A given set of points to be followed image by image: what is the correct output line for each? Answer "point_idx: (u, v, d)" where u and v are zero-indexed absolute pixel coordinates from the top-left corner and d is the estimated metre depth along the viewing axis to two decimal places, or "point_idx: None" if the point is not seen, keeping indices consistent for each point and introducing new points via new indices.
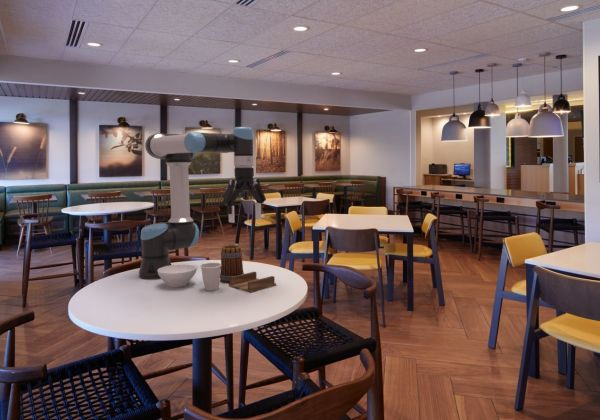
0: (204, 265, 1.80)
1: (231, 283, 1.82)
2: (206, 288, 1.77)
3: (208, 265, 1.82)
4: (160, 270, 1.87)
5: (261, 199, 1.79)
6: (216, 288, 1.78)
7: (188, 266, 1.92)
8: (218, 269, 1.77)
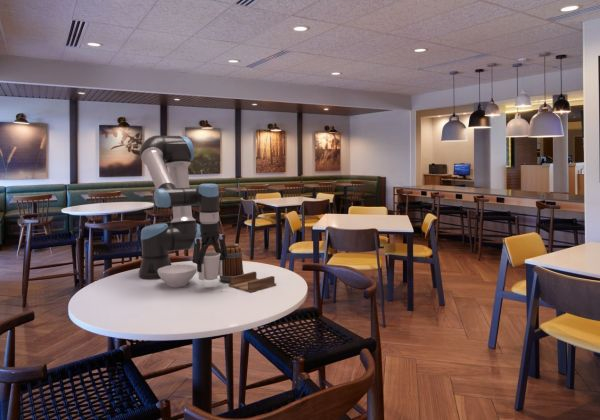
0: None
1: (231, 283, 1.82)
2: (205, 277, 1.77)
3: (207, 254, 1.82)
4: (160, 270, 1.87)
5: (223, 256, 1.82)
6: (215, 277, 1.78)
7: (188, 266, 1.92)
8: (217, 258, 1.77)
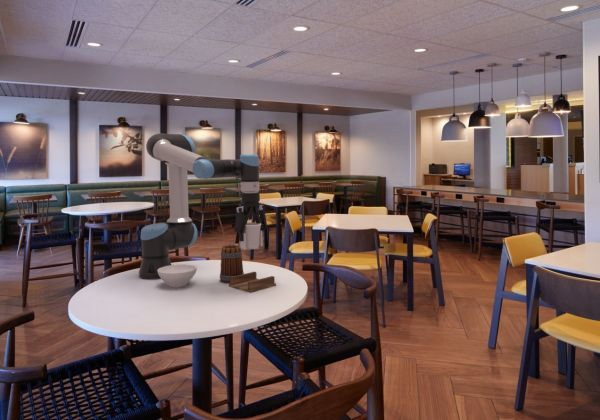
0: None
1: (231, 283, 1.82)
2: (246, 246, 1.79)
3: (247, 225, 1.84)
4: (160, 270, 1.87)
5: (263, 227, 1.84)
6: (256, 247, 1.80)
7: (188, 266, 1.92)
8: (258, 228, 1.79)
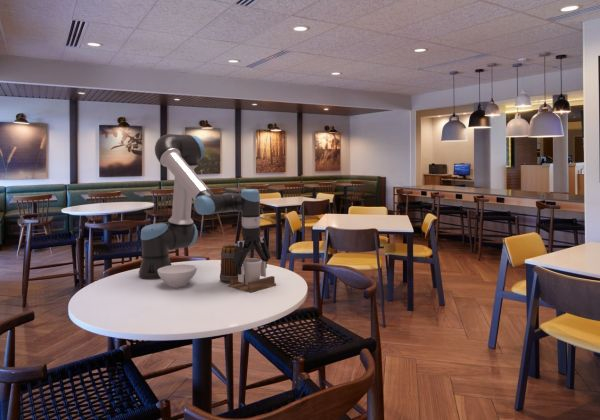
0: (245, 260, 1.84)
1: (231, 283, 1.82)
2: (247, 283, 1.81)
3: (248, 260, 1.85)
4: (160, 270, 1.87)
5: (266, 257, 1.86)
6: None
7: (188, 266, 1.92)
8: (259, 264, 1.81)
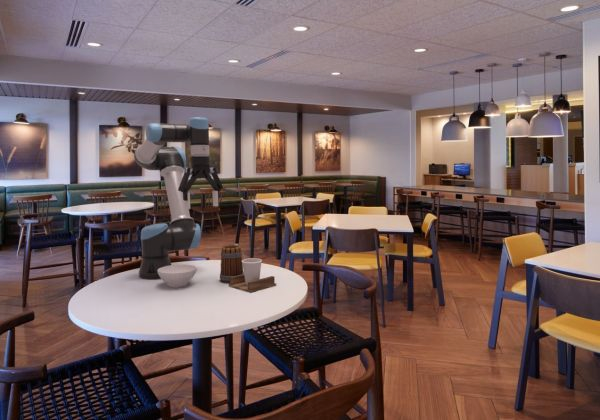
0: (245, 260, 1.84)
1: (231, 283, 1.82)
2: (247, 283, 1.81)
3: (248, 260, 1.85)
4: (160, 270, 1.87)
5: (218, 187, 1.87)
6: None
7: (188, 266, 1.92)
8: (259, 264, 1.81)
